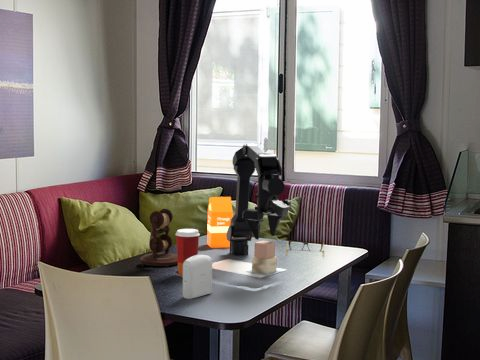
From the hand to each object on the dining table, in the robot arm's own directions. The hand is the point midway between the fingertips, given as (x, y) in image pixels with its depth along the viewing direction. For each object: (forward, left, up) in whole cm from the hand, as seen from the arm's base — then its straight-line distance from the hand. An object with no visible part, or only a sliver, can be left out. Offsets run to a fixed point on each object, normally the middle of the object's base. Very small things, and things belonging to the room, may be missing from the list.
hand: (265, 237), depth 255 cm
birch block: (0, 0, -12) cm, 12 cm away
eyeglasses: (-10, +41, -14) cm, 44 cm away
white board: (-9, 0, -13) cm, 16 cm away
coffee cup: (-20, -17, -13) cm, 29 cm away
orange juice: (-44, +30, -13) cm, 55 cm away
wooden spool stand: (-36, -13, -13) cm, 40 cm away
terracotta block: (0, 0, -7) cm, 7 cm away
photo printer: (+1, -36, -13) cm, 38 cm away
